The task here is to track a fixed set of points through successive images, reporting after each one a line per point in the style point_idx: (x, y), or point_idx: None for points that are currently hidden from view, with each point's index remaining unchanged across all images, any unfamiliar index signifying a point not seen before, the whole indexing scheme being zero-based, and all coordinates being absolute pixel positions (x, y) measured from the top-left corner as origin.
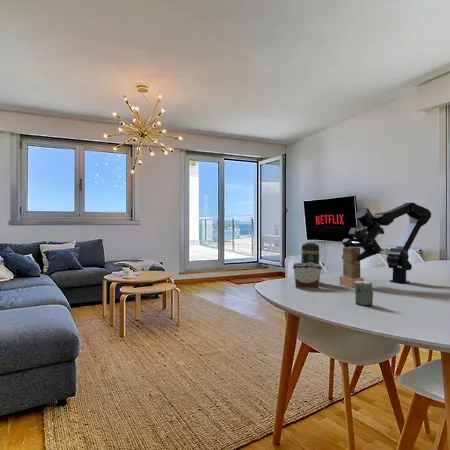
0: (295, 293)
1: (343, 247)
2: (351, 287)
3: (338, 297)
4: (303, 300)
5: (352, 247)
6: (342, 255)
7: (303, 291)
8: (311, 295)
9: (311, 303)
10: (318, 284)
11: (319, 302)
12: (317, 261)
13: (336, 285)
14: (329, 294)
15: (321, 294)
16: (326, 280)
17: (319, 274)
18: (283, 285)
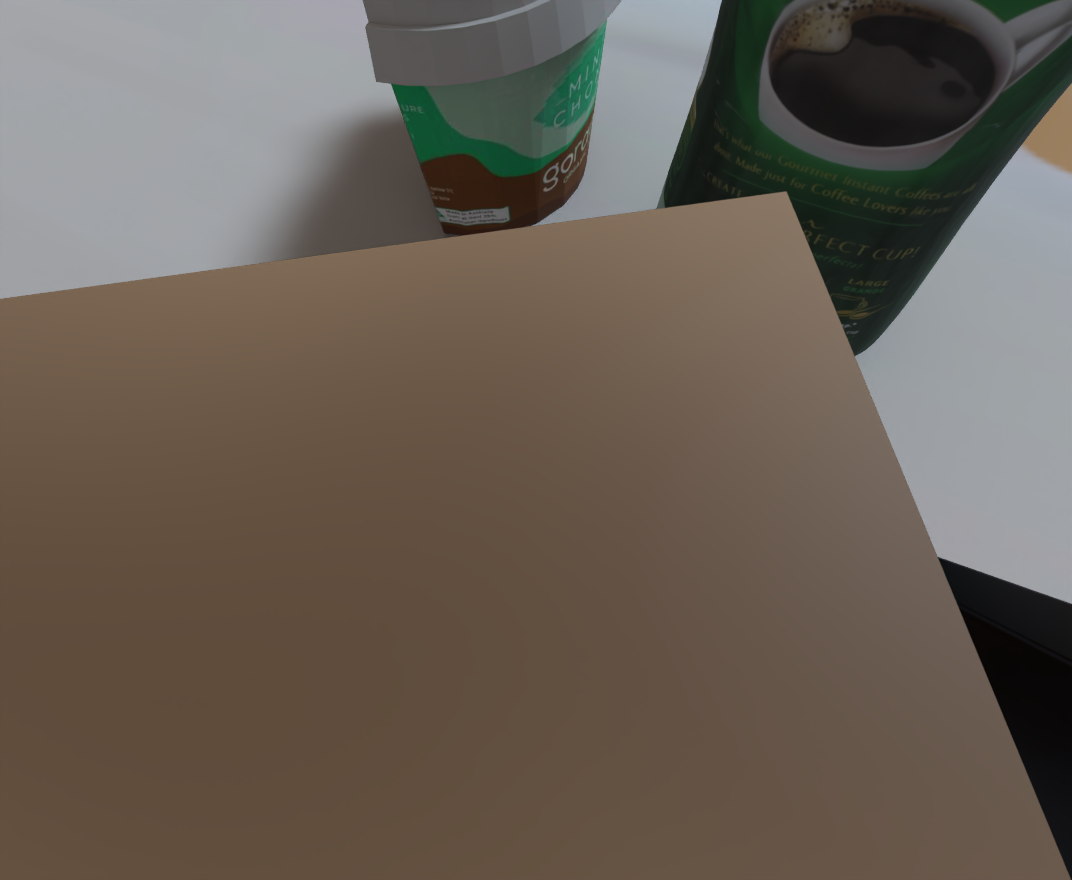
0: (318, 31)
1: (727, 202)
2: None
3: (80, 234)
4: (116, 15)
5: (366, 808)
6: (944, 559)
7: (366, 93)
8: (221, 96)
9: (31, 28)
10: (436, 201)
11: (26, 71)
12: (739, 53)
13: None
14: (199, 219)
15: (223, 166)
16: (954, 538)
17: (411, 117)
18: (631, 39)
